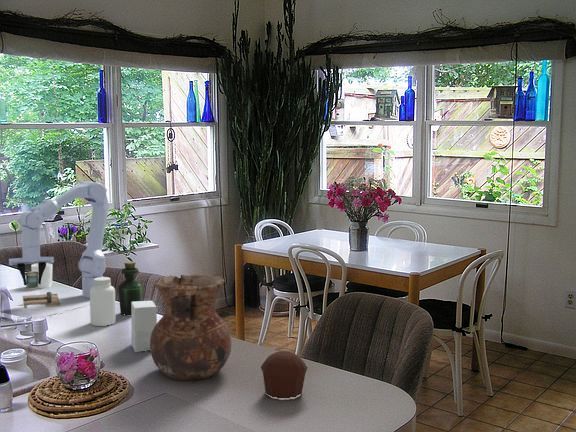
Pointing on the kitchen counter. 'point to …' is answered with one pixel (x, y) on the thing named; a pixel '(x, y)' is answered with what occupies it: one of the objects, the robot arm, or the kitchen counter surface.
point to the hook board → (42, 299)
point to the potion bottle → (129, 288)
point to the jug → (190, 328)
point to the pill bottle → (102, 302)
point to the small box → (142, 324)
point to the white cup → (44, 275)
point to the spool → (31, 280)
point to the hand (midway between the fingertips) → (32, 284)
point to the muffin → (283, 374)
